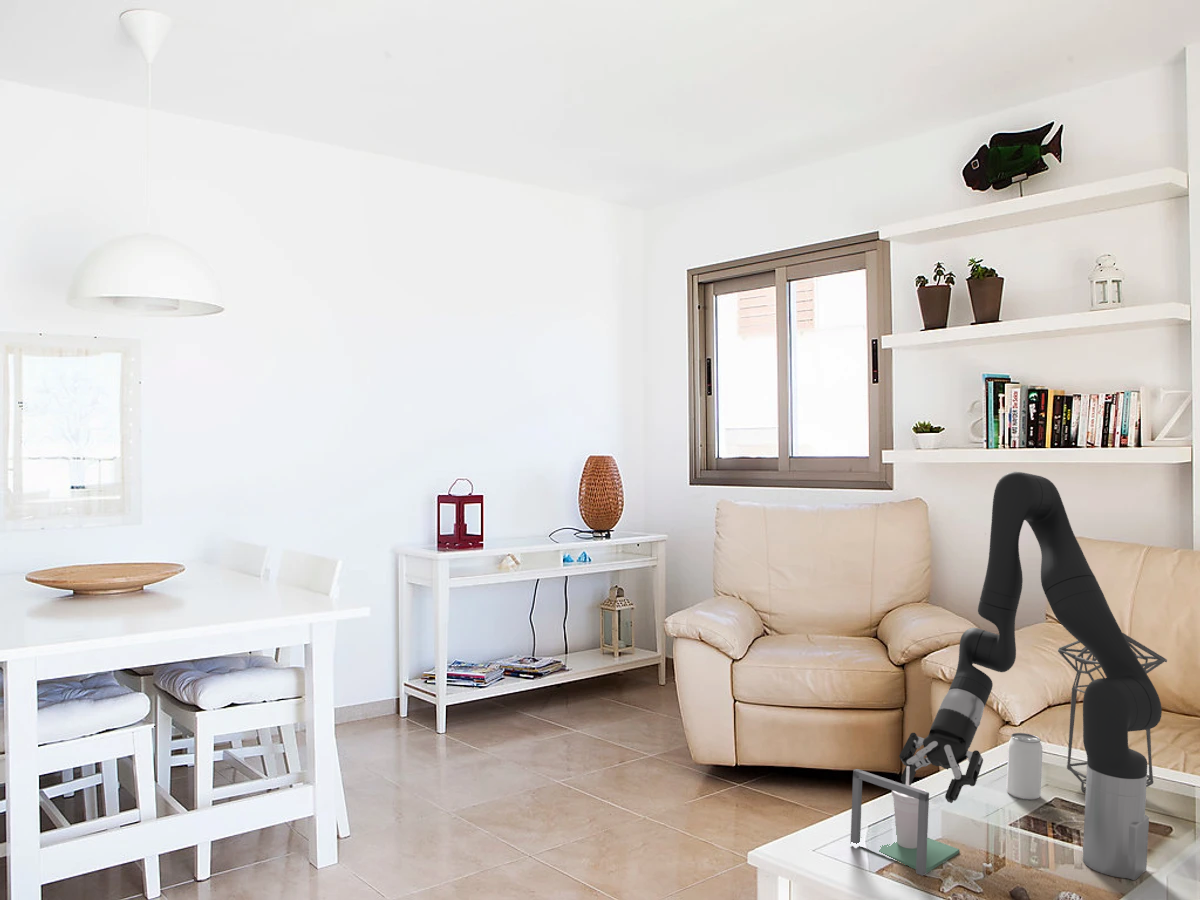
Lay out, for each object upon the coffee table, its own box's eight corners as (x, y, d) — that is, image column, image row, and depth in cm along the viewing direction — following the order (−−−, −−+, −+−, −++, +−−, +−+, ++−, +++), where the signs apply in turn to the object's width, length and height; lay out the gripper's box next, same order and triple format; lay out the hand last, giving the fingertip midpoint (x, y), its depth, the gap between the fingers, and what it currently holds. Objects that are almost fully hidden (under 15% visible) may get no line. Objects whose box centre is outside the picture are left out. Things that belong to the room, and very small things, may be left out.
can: (1045, 801, 195) (1048, 743, 194) (1014, 800, 195) (1016, 742, 194) (1032, 788, 201) (1034, 732, 201) (1001, 787, 201) (1003, 731, 201)
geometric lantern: (1107, 814, 189) (1110, 638, 189) (1050, 785, 204) (1052, 623, 204) (1171, 806, 194) (1174, 634, 193) (1110, 778, 209) (1113, 619, 208)
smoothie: (897, 832, 177) (900, 758, 176) (931, 843, 173) (935, 767, 172) (883, 844, 172) (886, 767, 171) (918, 855, 168) (922, 777, 167)
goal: (959, 852, 171) (962, 775, 170) (922, 875, 162) (925, 794, 161) (888, 826, 181) (891, 753, 180) (850, 846, 172) (853, 770, 171)
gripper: (917, 699, 186) (884, 771, 179) (988, 717, 176) (957, 794, 168) (929, 720, 190) (897, 791, 183) (1000, 739, 180) (969, 815, 172)
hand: (926, 793), depth 175 cm, fingers open, 8 cm apart
